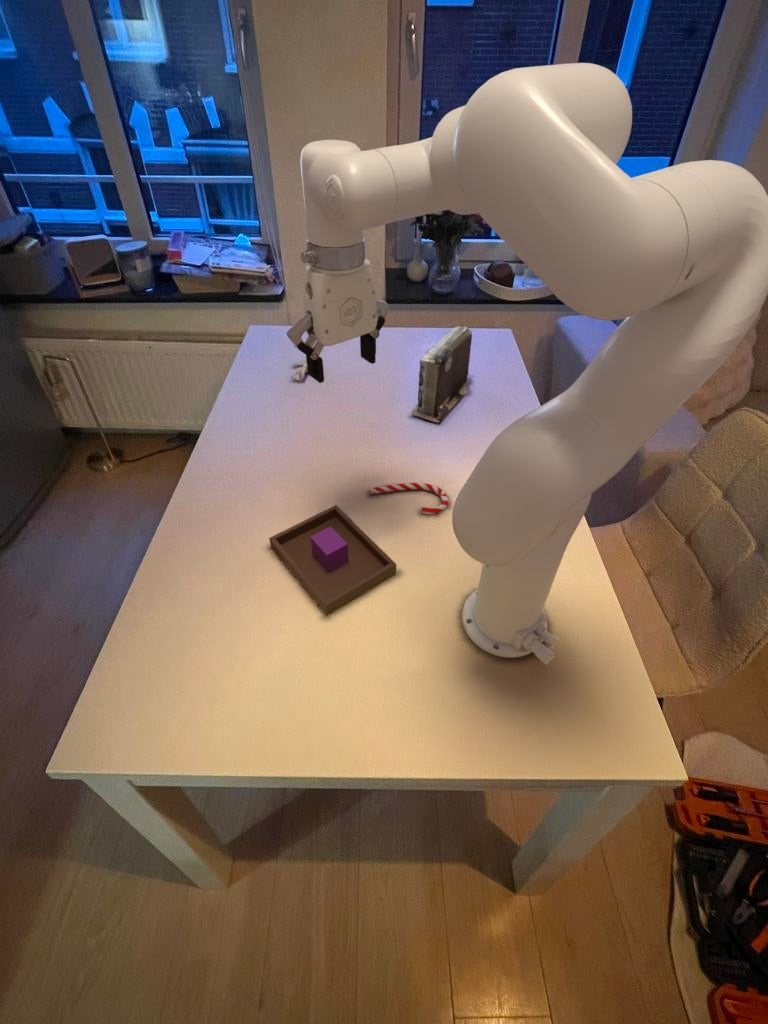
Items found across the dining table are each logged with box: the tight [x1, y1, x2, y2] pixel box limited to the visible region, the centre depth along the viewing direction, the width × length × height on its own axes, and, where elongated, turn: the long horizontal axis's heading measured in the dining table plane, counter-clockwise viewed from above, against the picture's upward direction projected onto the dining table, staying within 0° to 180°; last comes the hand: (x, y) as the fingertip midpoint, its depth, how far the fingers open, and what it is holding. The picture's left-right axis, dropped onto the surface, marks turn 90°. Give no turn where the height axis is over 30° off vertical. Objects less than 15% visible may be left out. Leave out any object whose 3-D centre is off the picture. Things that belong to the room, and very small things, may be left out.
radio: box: [411, 324, 473, 423], centre depth 120 cm, size 23×9×15 cm, turn 146°
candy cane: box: [369, 482, 449, 515], centre depth 99 cm, size 8×1×15 cm
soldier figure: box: [290, 345, 314, 382], centre depth 133 cm, size 8×5×12 cm
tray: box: [268, 504, 397, 616], centre depth 88 cm, size 18×14×2 cm
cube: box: [310, 526, 349, 573], centre depth 87 cm, size 5×4×4 cm
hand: (343, 369), depth 82 cm, fingers open, 9 cm apart
